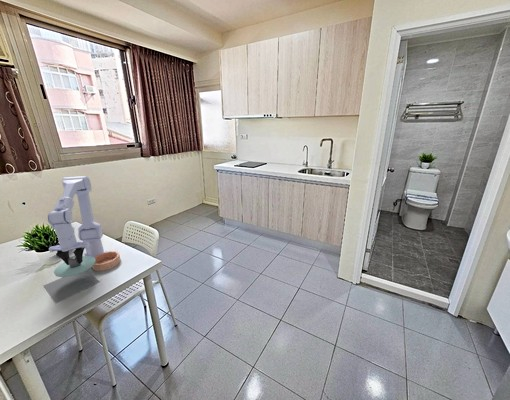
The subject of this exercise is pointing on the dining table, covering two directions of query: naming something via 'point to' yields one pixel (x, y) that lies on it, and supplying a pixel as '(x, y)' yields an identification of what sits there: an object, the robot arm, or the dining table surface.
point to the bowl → (106, 260)
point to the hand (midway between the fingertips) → (74, 263)
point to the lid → (74, 266)
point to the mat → (70, 285)
